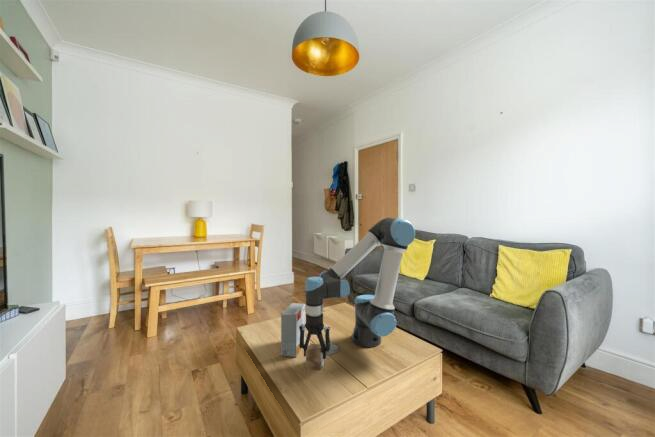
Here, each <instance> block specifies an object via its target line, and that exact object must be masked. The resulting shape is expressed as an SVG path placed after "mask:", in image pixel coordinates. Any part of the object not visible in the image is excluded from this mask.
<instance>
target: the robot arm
mask: <svg viewBox="0 0 655 437" xmlns="http://www.w3.org/2000/svg"><path fill="white" fill-rule="evenodd" d="M415 237H416V229H415V227H414V224H412V223H411V222H410V221H409V220H406V219H404V218H393V217H385V218H383V219H380V220H378V221H377V222H376V223H375V224H374V225H373V226H372V227H371V228H369V229H368V230H367V231H366V234H365V236H363V238H361V239H360V240H359V241H358V242H357V243H356V244H354V245H353V247H351V249H350V250H348V252H346V253H345V254H344V255H343V256H342V257H341V258H340V259H338V261H337V262H336V263H334V264H333V265H332V266H331V267H330V268H329V269H328V270H324V271H322V272H321V273H319V275H318V276H309V277H308V278H306V280H305V288H304V290H305V324H304V325H303V324H301V325H300V327H299V329H300V346H299V347H300V348H301V349H302V350H303V357H305V358H306V350H307V348H308V346H309V345H310V344H309V343H310V339H311V336H314V335H315V336H316V337H317V339H318V342H319V344H320V346H321V349H322V351H321V368H323V367H324V364H325V360H326V357H327V354H326V351H327V352H328V351H329V349H330V343H331V340H330V330H331V327H330V326H328V327H327V326H325V324H324V314H323V312H324V300H326V299H336V298H337V299H338V298H346V297H348V296H350V293H351V287H350V286H351V285H350V283H349V281H348V279H343V278H344V277H345V276H346V275H347V274H348V273H349V272H350V271H351V270H352V269H354V268H355V267H357V266H356V265H358V264H359V263H360V262H361V261H362V260H363V259H364V258H365V257H366V256H368V255H369V254H370V253H371V252H372V251H373V250H374V249H375V248H376V247H377V246H378V247H379V246H382V247H383V248H384V249H383V250H384V251H383V254H382V259H381V263H380V269H379V274H378V278H377V282H376V283H377V284H376V286H375V291H374V295H373V294H361V295H358V296H356V297H355V300H354V314H355V315H354V319H355V320H354V322H355V323H354V327H353V330H352V332H351V340H352V342H353V343H354V345H356V346H359V347H362V348H363V347H364V348H374V347H377V346H379V345H380V344H381V343H382V337H387V336H389V335H390V334H392V333H393V332H394V331H395V330H396V327H397V319H396V316H395V315H394V314H395V305H394V304H393V301H394V296H395V292H396V288H397V283H398V278H399V273H400V269H401V268H400V267H401V263H402V260H403V259H402V258H403V254H404V252H406V251H407V250H408V247H409V245H411V244H412V243H413V242H414V240H415ZM304 329H305V330H304ZM306 330H307V335H306V337H305V342H304V331H305V332H306ZM322 331H323V332H324V337H325V338H324V337H323V332H322ZM325 344H326V346H325Z"/></svg>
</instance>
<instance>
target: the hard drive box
mask: <svg viewBox="0 0 655 437" xmlns="http://www.w3.org/2000/svg"><path fill="white" fill-rule="evenodd" d="M280 322H281V324H280V330H281V331H280V355H281V356H282V357H290V358H291V357H293V358H297V356H298V355H299V353H300V352H301V350H302V348H300V347H299V346H300V329H299V327H300V325H301V324H303V325H304V324H306V303H298V302H297V303H296V302H291V303H290V304H289V306H288V307H286V309H285V310H284V311H283V312H282V313H281V314H280ZM304 330H305V331H304V343H305V341H306V328H305V329H304Z"/></svg>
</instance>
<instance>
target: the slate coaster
mask: <svg viewBox="0 0 655 437" xmlns="http://www.w3.org/2000/svg"><path fill="white" fill-rule="evenodd" d="M325 346H326V343H325ZM337 352H339V347H338V346H337V344H334V343H331V342H330V349H329V351H328V352H327V351H326V355H333V354H336V353H337Z"/></svg>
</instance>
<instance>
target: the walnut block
mask: <svg viewBox="0 0 655 437" xmlns="http://www.w3.org/2000/svg"><path fill="white" fill-rule="evenodd" d="M309 343H310V342H309ZM321 351H322V349H321V346H320V343H319V344H318V343H313V342H312V343H310V344H308V347H307V350H306V357H305V368H306V369H308V370H315V371H321V368H322V367H321Z"/></svg>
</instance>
